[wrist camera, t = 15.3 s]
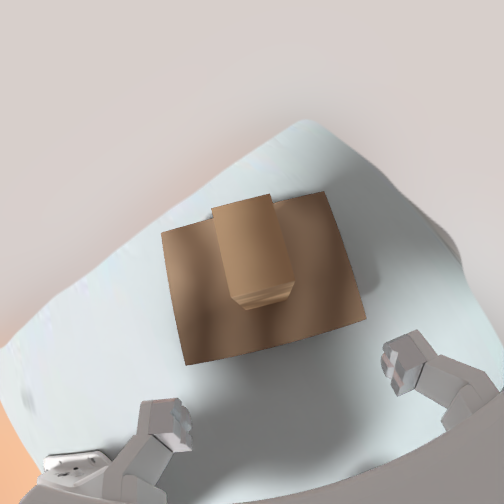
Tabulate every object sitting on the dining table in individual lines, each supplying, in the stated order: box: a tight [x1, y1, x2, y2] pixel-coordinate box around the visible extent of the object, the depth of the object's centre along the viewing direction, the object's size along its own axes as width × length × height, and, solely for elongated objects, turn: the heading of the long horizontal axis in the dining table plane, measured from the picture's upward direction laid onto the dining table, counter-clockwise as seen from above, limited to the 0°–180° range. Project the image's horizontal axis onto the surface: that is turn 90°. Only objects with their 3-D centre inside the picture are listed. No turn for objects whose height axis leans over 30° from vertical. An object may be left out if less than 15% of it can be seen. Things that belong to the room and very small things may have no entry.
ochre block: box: [211, 194, 296, 310], centre depth 23 cm, size 4×6×10 cm, turn 14°
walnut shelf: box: [161, 191, 366, 366], centre depth 30 cm, size 18×14×6 cm
